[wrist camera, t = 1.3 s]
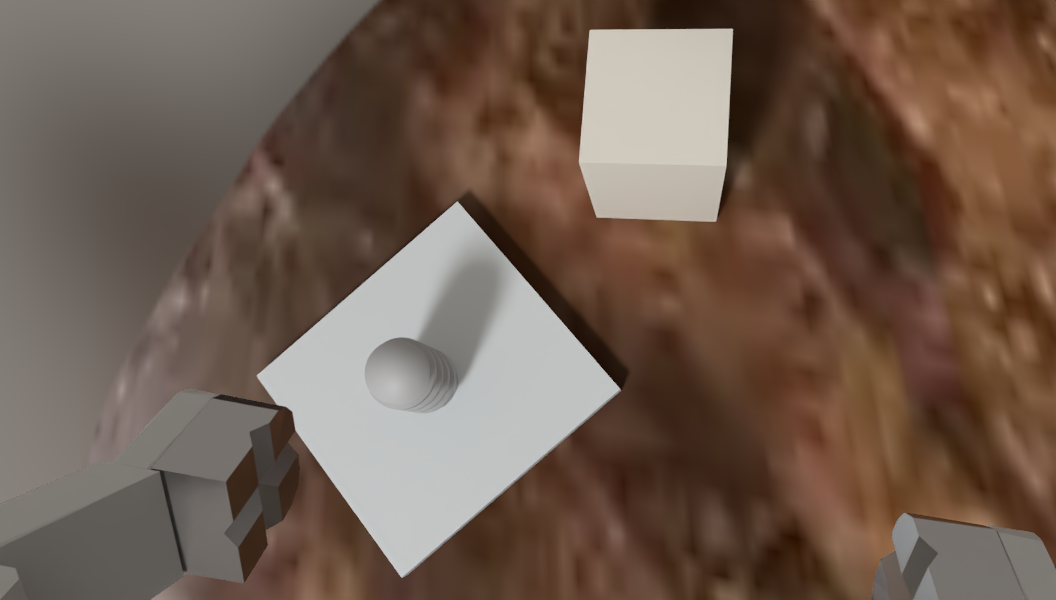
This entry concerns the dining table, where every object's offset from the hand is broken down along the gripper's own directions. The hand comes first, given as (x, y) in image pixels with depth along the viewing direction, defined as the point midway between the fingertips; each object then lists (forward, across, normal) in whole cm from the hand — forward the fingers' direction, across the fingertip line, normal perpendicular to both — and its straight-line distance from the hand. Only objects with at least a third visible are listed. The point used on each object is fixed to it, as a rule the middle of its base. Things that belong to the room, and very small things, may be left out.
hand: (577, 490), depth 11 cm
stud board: (+22, +8, +16) cm, 28 cm away
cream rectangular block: (+29, -1, +6) cm, 30 cm away
